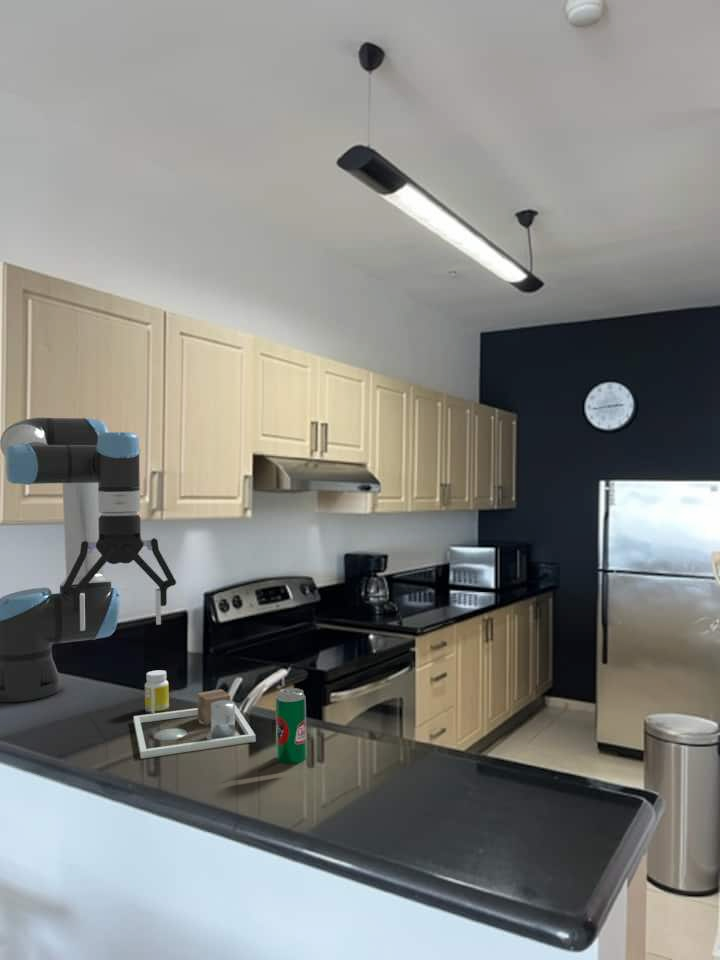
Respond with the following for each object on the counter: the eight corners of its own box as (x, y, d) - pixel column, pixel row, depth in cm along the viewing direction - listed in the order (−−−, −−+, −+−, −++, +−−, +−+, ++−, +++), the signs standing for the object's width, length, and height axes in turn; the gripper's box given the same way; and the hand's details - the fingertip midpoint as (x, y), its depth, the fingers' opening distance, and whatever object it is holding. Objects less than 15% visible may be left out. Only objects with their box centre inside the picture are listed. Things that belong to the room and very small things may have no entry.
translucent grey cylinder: (209, 733, 134) (208, 701, 134) (232, 730, 135) (232, 698, 135) (213, 741, 129) (212, 708, 129) (237, 738, 131) (236, 705, 131)
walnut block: (197, 718, 142) (197, 693, 142) (221, 713, 145) (221, 689, 145) (206, 725, 138) (205, 699, 138) (230, 720, 141) (230, 695, 141)
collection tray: (133, 725, 141) (133, 716, 141) (234, 712, 148) (234, 703, 148) (140, 762, 122) (140, 751, 122) (255, 745, 129) (255, 735, 129)
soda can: (301, 768, 119) (300, 696, 119) (272, 766, 120) (271, 695, 120) (310, 757, 123) (309, 688, 123) (282, 755, 125) (281, 686, 124)
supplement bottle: (172, 709, 150) (171, 669, 150) (164, 717, 146) (163, 675, 146) (150, 709, 151) (149, 669, 151) (141, 716, 146) (140, 675, 146)
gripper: (46, 517, 127) (47, 636, 127) (189, 513, 135) (190, 624, 135) (49, 515, 134) (51, 627, 134) (185, 511, 142) (186, 617, 143)
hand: (121, 626), depth 135 cm, fingers open, 13 cm apart
